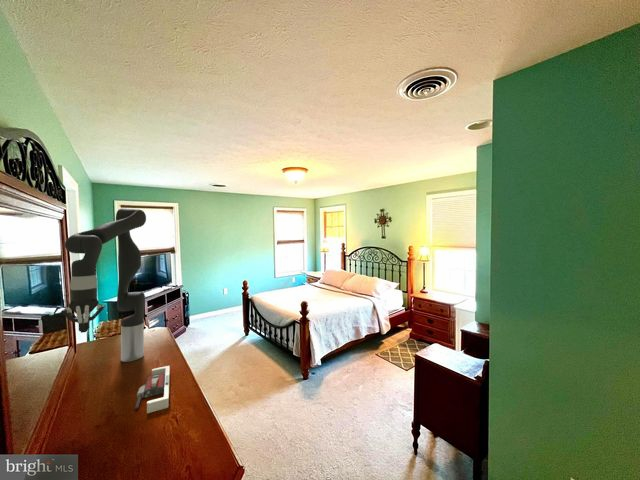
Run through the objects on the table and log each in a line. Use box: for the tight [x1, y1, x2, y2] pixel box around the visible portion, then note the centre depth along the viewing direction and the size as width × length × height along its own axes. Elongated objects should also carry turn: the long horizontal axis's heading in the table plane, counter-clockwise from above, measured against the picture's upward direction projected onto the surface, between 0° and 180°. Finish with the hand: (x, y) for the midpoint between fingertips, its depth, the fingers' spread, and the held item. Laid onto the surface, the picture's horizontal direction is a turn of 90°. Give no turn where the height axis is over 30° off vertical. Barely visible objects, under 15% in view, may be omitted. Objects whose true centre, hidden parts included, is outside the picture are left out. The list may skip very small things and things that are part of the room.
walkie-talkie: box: [134, 373, 165, 410], centre depth 100 cm, size 9×4×20 cm
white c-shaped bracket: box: [146, 365, 171, 414], centre depth 102 cm, size 26×6×4 cm, turn 30°
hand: (84, 331), depth 97 cm, fingers closed
